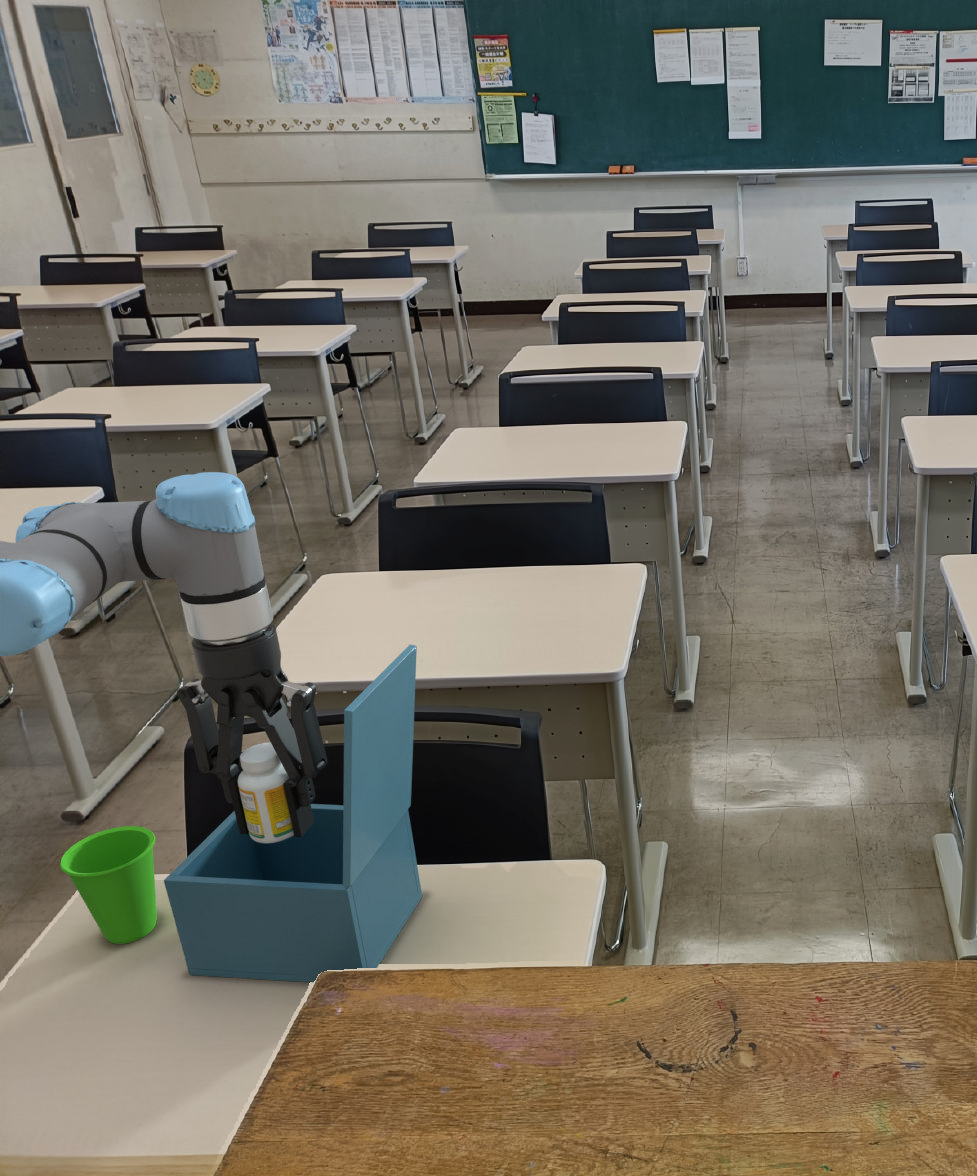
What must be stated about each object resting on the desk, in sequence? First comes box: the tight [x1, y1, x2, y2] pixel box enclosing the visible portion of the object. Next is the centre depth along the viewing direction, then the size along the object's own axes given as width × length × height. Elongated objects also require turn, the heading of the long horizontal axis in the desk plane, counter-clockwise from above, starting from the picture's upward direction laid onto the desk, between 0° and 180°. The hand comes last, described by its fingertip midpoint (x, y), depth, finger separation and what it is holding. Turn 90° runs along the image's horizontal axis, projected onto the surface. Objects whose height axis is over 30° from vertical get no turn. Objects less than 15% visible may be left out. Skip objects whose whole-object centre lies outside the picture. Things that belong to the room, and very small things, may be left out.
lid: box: [343, 644, 418, 887], centre depth 109 cm, size 21×15×1 cm
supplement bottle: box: [238, 742, 294, 843], centre depth 110 cm, size 5×5×10 cm
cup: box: [59, 825, 158, 945], centre depth 117 cm, size 9×9×11 cm
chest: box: [163, 803, 423, 983], centre depth 116 cm, size 20×15×12 cm
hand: (277, 827), depth 111 cm, fingers closed on supplement bottle, 5 cm apart
